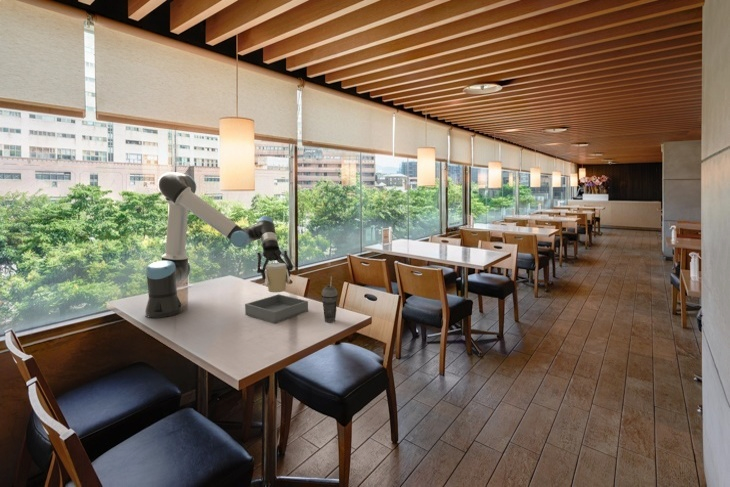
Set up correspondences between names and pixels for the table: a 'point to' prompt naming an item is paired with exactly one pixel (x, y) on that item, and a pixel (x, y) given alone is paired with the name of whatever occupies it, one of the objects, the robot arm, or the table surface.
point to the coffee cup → (276, 277)
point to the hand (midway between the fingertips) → (278, 283)
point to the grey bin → (276, 308)
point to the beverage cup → (329, 302)
